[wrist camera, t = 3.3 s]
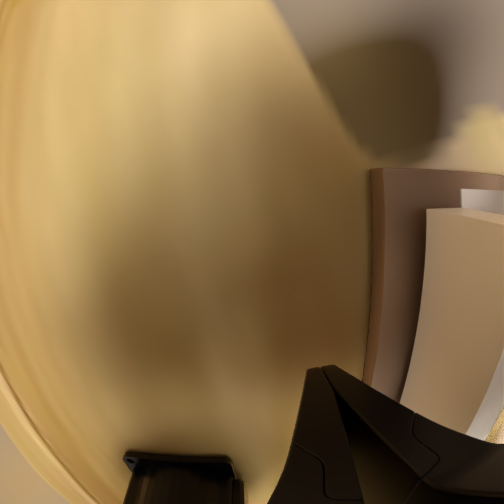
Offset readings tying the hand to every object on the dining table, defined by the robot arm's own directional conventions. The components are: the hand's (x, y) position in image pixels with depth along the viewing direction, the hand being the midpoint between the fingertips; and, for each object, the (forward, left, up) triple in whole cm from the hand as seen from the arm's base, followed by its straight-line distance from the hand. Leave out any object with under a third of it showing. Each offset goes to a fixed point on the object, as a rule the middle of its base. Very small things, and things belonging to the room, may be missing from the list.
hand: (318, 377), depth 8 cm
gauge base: (+12, 0, -3) cm, 12 cm away
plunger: (+9, 0, -2) cm, 9 cm away
